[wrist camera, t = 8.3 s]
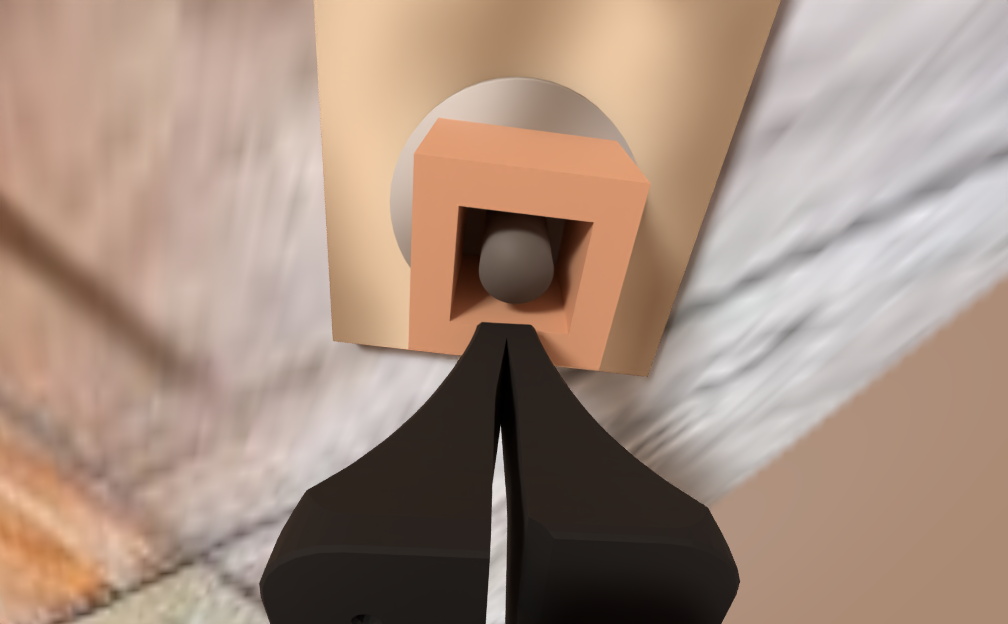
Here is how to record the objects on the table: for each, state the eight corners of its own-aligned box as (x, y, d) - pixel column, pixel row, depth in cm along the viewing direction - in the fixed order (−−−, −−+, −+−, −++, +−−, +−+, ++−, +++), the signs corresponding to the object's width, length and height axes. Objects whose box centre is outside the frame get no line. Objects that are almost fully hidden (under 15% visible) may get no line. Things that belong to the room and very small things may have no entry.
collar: (616, 141, 14) (650, 183, 11) (581, 295, 17) (598, 370, 13) (438, 117, 14) (413, 154, 10) (430, 278, 16) (408, 349, 13)
